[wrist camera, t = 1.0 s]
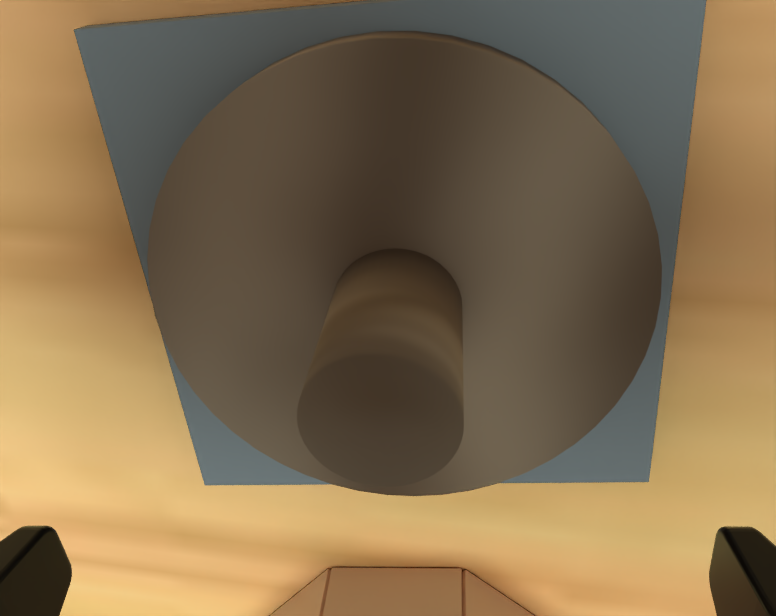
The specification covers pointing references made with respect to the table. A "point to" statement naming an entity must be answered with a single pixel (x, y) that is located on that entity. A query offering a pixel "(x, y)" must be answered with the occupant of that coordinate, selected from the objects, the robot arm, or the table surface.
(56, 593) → the robot arm
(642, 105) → the mat
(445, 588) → the bowl
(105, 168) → the table surface
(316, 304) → the lid
